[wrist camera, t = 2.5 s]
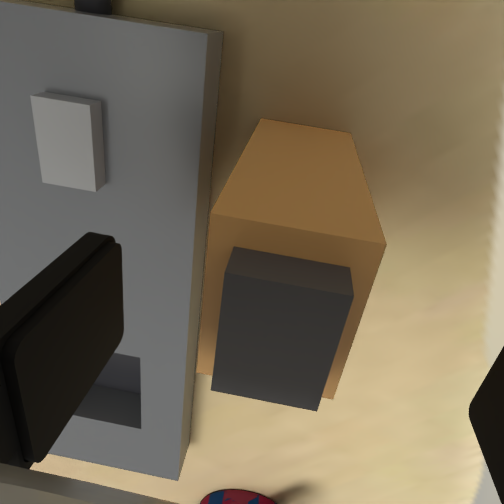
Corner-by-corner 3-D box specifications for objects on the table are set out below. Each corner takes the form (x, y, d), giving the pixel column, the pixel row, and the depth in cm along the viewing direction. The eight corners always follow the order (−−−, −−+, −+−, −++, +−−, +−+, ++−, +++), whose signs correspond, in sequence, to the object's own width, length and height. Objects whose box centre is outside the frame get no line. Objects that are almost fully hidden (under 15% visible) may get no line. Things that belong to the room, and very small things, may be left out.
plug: (261, 118, 16) (197, 236, 7) (350, 133, 16) (395, 272, 7) (246, 221, 18) (185, 404, 9) (324, 235, 18) (334, 434, 9)
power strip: (-44, -155, 13) (-146, -205, 10) (235, -116, 12) (212, -157, 10) (57, 416, 27) (27, 463, 24) (189, 443, 27) (174, 494, 24)
